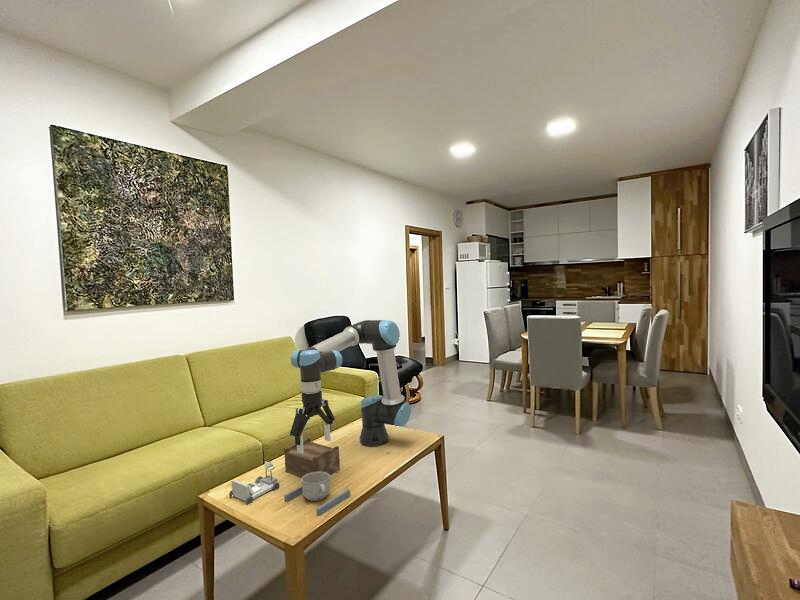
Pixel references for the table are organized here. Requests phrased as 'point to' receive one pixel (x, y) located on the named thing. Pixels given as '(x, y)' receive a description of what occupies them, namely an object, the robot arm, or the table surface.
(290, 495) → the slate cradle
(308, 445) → the walnut stand
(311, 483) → the teacup
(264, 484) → the toy rover
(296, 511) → the table surface
